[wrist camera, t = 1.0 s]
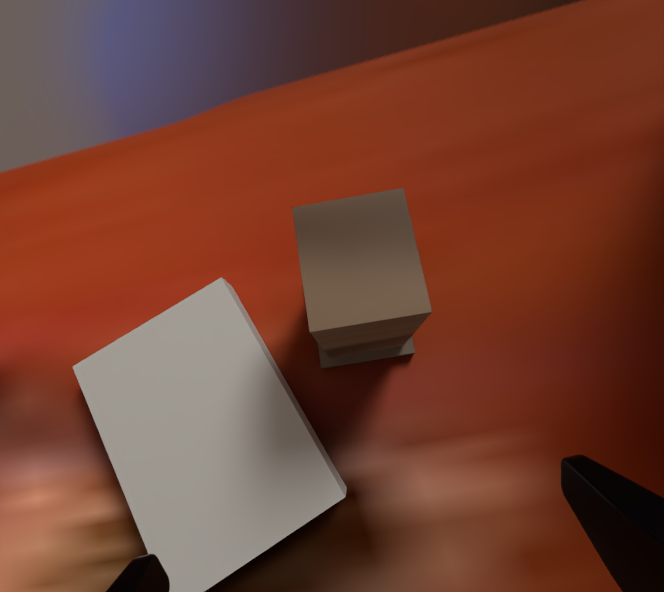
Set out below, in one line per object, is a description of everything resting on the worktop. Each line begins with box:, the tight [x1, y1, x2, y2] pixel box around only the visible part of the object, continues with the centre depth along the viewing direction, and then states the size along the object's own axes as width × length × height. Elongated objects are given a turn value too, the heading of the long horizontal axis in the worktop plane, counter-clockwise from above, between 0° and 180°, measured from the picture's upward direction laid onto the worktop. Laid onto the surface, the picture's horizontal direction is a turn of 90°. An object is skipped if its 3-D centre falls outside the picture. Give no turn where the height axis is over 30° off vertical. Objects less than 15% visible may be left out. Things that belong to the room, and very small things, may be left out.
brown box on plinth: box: [292, 188, 432, 369], centre depth 19 cm, size 6×6×10 cm
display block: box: [73, 277, 347, 592], centre depth 22 cm, size 14×10×2 cm
